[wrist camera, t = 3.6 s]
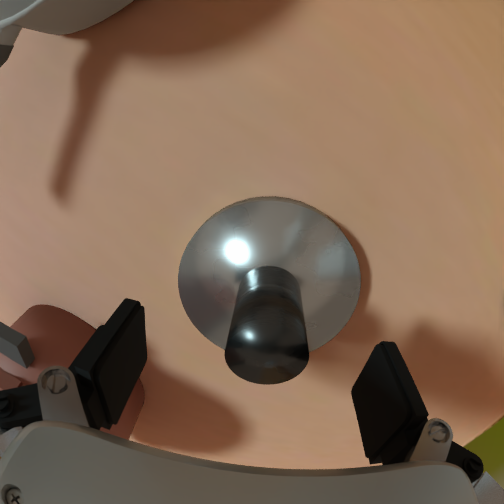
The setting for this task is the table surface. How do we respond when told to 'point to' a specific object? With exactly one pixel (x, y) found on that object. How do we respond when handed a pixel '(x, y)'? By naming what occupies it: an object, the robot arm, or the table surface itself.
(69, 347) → the pot
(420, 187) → the table surface
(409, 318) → the table surface
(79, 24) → the saucepan
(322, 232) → the lid
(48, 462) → the robot arm
